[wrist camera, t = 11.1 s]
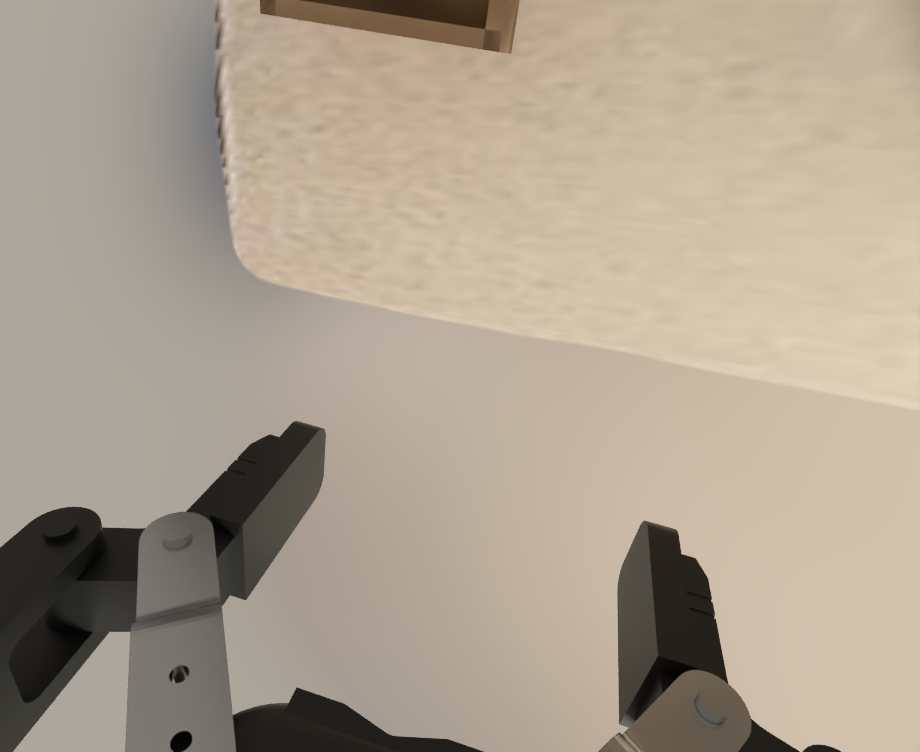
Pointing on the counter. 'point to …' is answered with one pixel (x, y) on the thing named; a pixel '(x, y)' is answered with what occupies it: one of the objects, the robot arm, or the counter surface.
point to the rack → (413, 18)
